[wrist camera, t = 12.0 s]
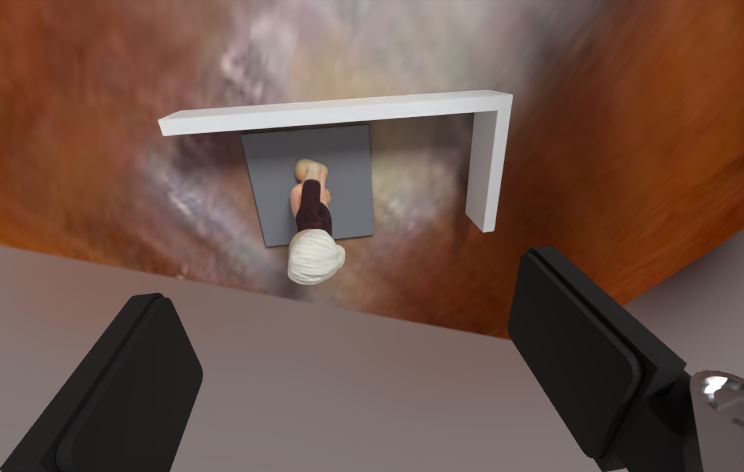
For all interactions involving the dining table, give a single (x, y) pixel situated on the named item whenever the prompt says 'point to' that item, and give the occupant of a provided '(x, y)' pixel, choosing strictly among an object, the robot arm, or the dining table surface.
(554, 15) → the dining table surface
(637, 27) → the dining table surface
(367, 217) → the slate mat
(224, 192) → the dining table surface
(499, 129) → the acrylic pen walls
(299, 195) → the grandmother figurine
